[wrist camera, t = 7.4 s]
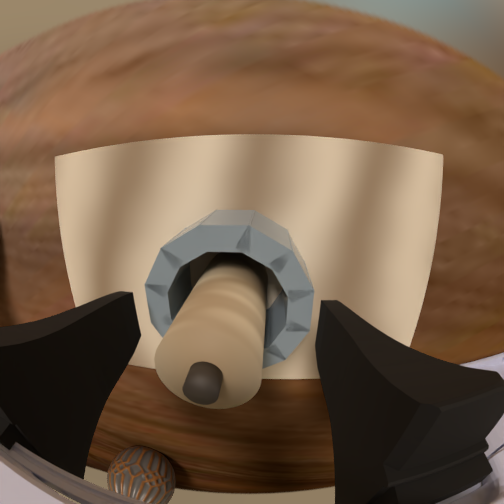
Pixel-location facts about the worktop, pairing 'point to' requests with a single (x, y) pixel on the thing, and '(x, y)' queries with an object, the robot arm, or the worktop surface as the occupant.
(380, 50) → the worktop surface
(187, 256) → the grey faceted ring
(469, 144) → the worktop surface
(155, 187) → the board
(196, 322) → the wick peg
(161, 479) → the vase
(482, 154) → the worktop surface
